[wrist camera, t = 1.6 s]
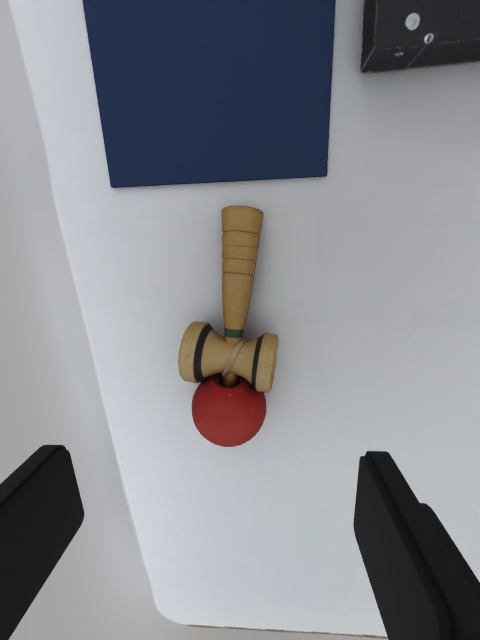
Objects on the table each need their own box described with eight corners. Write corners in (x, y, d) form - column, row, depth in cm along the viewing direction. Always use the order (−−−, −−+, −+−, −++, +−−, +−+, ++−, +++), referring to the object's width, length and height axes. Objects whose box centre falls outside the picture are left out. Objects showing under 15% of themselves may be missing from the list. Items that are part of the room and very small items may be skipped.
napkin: (54, -202, 16) (50, -210, 15) (346, -253, 14) (348, -263, 14) (112, 187, 21) (110, 187, 21) (325, 176, 20) (326, 175, 20)
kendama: (187, 215, 22) (181, 421, 25) (180, 192, 16) (172, 468, 19) (280, 223, 23) (263, 420, 26) (306, 205, 17) (281, 466, 20)
